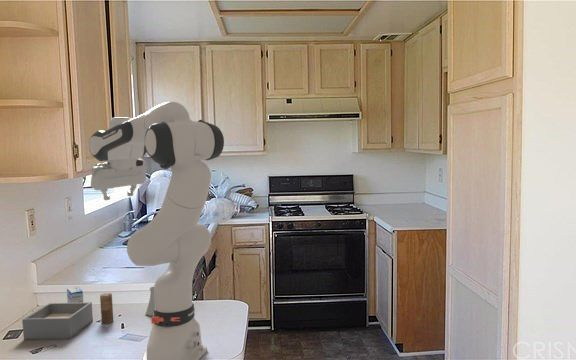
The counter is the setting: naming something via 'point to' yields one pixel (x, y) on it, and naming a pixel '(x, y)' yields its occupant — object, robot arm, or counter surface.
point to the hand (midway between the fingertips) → (118, 197)
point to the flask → (151, 303)
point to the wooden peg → (106, 308)
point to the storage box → (57, 321)
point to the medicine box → (74, 295)
